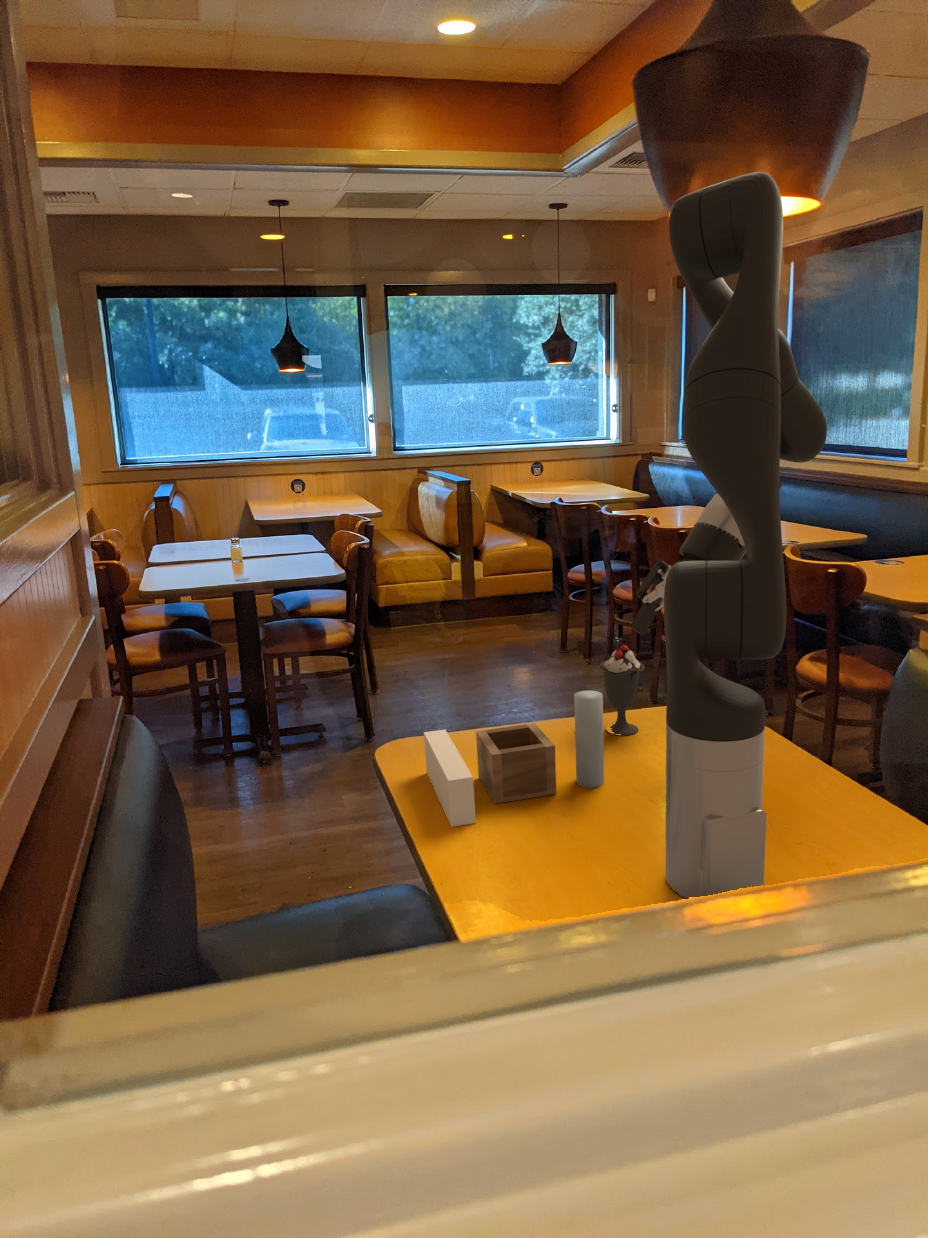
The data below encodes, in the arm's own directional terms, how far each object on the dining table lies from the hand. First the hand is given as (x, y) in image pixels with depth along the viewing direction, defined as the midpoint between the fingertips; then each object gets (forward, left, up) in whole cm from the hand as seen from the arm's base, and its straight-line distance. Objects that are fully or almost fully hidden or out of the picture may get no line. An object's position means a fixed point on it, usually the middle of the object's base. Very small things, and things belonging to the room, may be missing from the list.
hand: (658, 640), depth 109 cm
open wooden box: (0, +20, -18) cm, 27 cm away
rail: (0, +29, -18) cm, 34 cm away
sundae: (+13, 0, -18) cm, 22 cm away
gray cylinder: (-2, +11, -18) cm, 21 cm away
